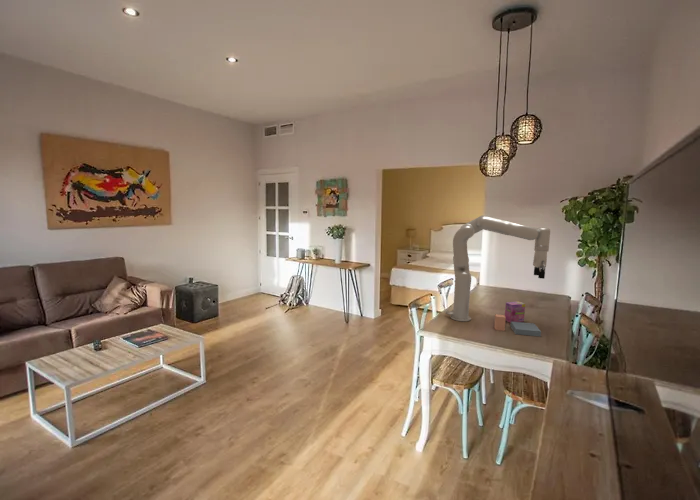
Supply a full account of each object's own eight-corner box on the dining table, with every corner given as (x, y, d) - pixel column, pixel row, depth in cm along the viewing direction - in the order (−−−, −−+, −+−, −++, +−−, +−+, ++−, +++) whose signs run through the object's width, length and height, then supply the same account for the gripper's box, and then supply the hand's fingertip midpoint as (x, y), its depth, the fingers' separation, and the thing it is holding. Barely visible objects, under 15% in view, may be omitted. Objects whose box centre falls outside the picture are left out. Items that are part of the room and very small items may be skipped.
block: (495, 329, 212) (496, 316, 211) (494, 327, 216) (495, 314, 215) (504, 330, 211) (505, 317, 210) (503, 328, 215) (504, 314, 214)
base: (515, 334, 205) (515, 329, 205) (510, 326, 219) (510, 321, 218) (540, 336, 202) (541, 331, 202) (533, 328, 216) (534, 323, 215)
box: (510, 323, 225) (511, 304, 224) (504, 320, 231) (505, 302, 229) (524, 321, 228) (525, 303, 226) (517, 319, 233) (519, 301, 232)
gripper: (530, 246, 225) (528, 273, 227) (538, 249, 208) (536, 279, 210) (543, 247, 223) (541, 274, 225) (553, 250, 206) (550, 280, 208)
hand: (538, 276), depth 217 cm, fingers open, 9 cm apart
